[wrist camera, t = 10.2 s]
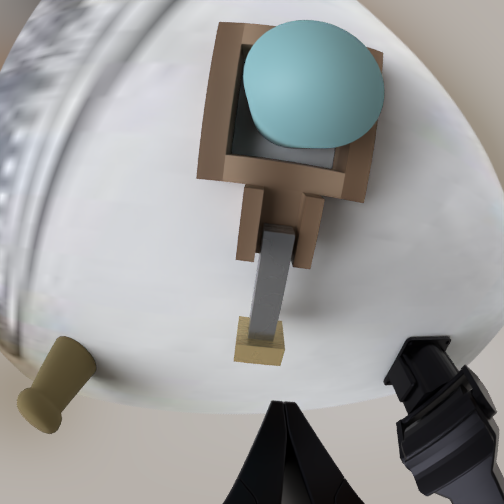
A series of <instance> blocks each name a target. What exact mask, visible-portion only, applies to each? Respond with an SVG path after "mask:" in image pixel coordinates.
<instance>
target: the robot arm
mask: <svg viewBox="0 0 504 504" xmlns="http://www.w3.org/2000/svg"><path fill="white" fill-rule="evenodd" d="M450 342H451V339H450V338H449V337H419V338H408V339H407V340H406V341H405V343H404V345H403V347H402V349H401V350H400V352H399V354H398V356H397V358H396V360H395V362H394V363H393V365H392V367H391V369H390V370H389V372H388V374H387V376H386V377H385V379H384V381H383V382H384V384H385V385H393V387H394V389H395V392H396V394H397V396H398V398H399V401H400V402H403V404H404V406H405V408H406V411H407V413H408V416H406V417H405V418H403V419H402V420H399V421H398V422H397V423H396V426H397V434H398V443H399V452H400V459H401V460H402V463H403V464H404V465H405V466H406V467H407V469H408V470H410V471H411V472H412V474H413V476H414V478H415V481H416V484H417V486H418V489H419V491H420V492H421V493H422V494H424V495H425V496H429V495H431V494H433V493H436V494H438V495H441V496H443V497H445V498H448V499H450V501H451V503H452V504H504V478H503V475H502V473H501V471H500V469H499V467H498V465H497V463H496V458H497V451H498V441H499V428H498V426H497V424H496V423H495V420H494V419H493V416H494V415H495V414H496V413H497V411H496V408H495V406H494V404H493V402H492V399H491V397H490V395H489V393H488V391H487V389H486V388H485V386H484V385H483V383H482V382H481V381H480V379H479V378H478V376H477V375H476V374H475V373H473V371H471V370H470V369H469V368H468V367H467V366H466V365H464V366H463V367H462V368H461V370H460V371H458V369H457V368H456V366H455V365H454V363H453V362H452V361H451V359H450V358H449V356H448V355H447V353H446V352H445V351H446V349H447V347H448V345H449V344H450ZM223 504H364V502H363V501H362V500H361V499H360V498H359V497H358V495H357V494H356V493H355V491H354V490H353V489H352V487H351V486H350V485H349V483H348V482H347V480H346V479H345V478H344V476H343V475H342V473H341V471H340V470H339V468H338V467H337V466H336V464H335V463H334V461H333V460H332V458H331V457H330V455H329V454H328V452H327V450H326V449H325V448H324V446H323V445H322V443H321V441H320V440H319V438H318V437H317V435H316V433H315V432H314V430H313V429H312V427H311V426H310V424H309V423H308V421H307V419H306V418H305V416H304V415H303V413H302V411H301V410H300V408H299V407H298V405H297V404H296V403H295V402H282V401H274V400H273V401H271V403H270V405H269V408H268V410H267V413H266V415H265V418H264V420H263V422H262V425H261V427H260V429H259V431H258V434H257V436H256V438H255V441H254V443H253V445H252V447H251V450H250V452H249V454H248V456H247V458H246V460H245V463H244V465H243V467H242V469H241V471H240V473H239V475H238V477H237V479H236V481H235V483H234V485H233V487H232V489H231V491H230V493H229V494H228V496H227V498H226V499H225V501H224V503H223Z"/></svg>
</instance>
